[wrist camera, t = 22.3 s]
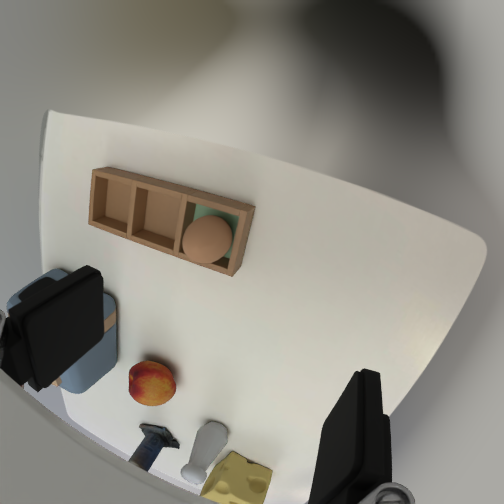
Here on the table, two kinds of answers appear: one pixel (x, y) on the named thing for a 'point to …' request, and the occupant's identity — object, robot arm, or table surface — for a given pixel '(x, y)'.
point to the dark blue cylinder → (151, 446)
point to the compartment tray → (164, 214)
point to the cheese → (237, 482)
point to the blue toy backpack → (96, 358)
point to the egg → (207, 239)
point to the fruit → (151, 383)
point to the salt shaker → (204, 451)
